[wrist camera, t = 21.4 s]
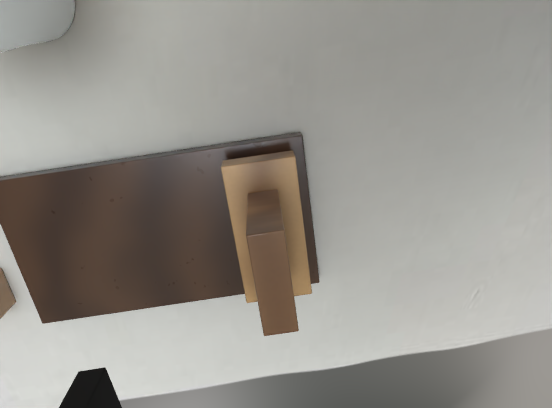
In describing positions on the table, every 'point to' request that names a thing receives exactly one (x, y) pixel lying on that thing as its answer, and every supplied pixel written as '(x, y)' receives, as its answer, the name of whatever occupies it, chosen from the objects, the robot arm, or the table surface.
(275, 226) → the tan slab with handle
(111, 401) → the robot arm
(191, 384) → the table surface
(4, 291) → the tan blocky piece
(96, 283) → the board
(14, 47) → the metal cup with straw
